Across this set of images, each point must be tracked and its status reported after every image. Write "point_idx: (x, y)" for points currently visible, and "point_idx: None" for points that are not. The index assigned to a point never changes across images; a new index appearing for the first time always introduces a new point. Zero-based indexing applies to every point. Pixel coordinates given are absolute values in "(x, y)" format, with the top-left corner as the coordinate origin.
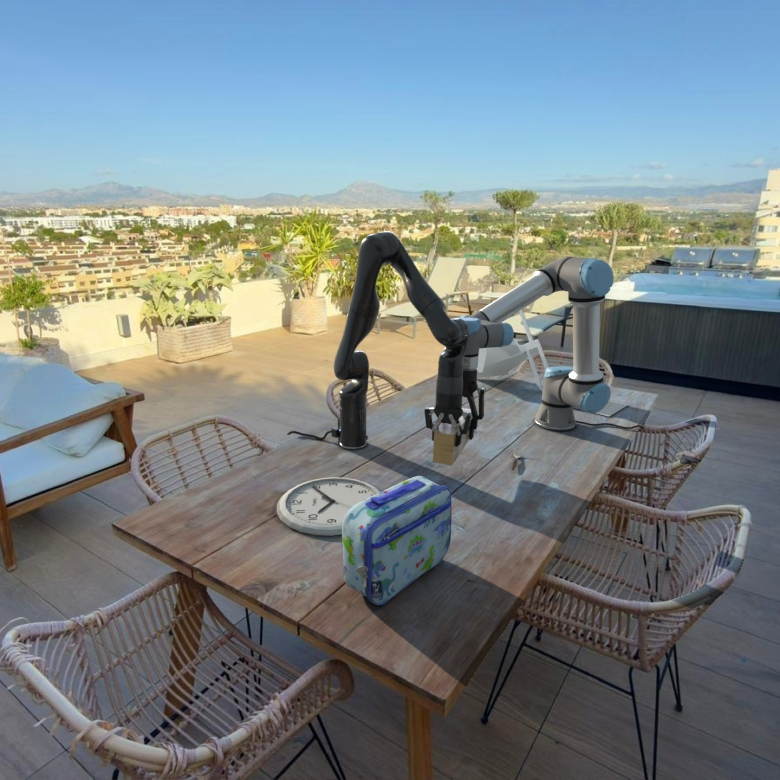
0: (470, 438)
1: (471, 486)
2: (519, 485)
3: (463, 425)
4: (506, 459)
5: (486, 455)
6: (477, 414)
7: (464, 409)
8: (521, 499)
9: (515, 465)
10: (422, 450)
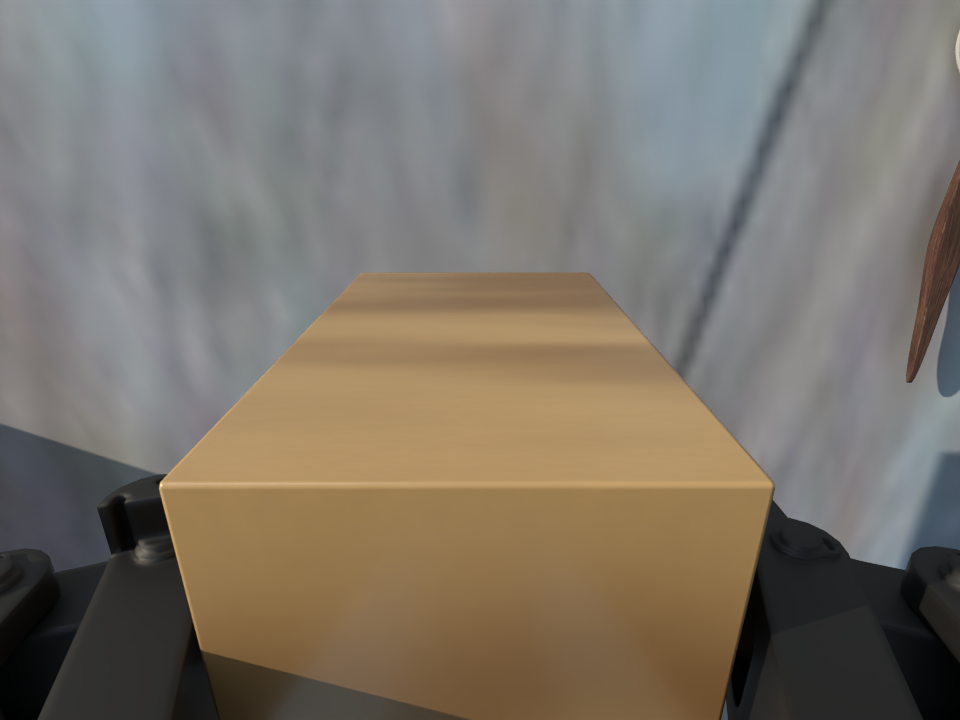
0: None
1: None
2: (919, 527)
3: None
4: (870, 149)
5: (687, 136)
6: (858, 618)
7: (493, 606)
8: None
9: (945, 298)
10: (138, 269)
